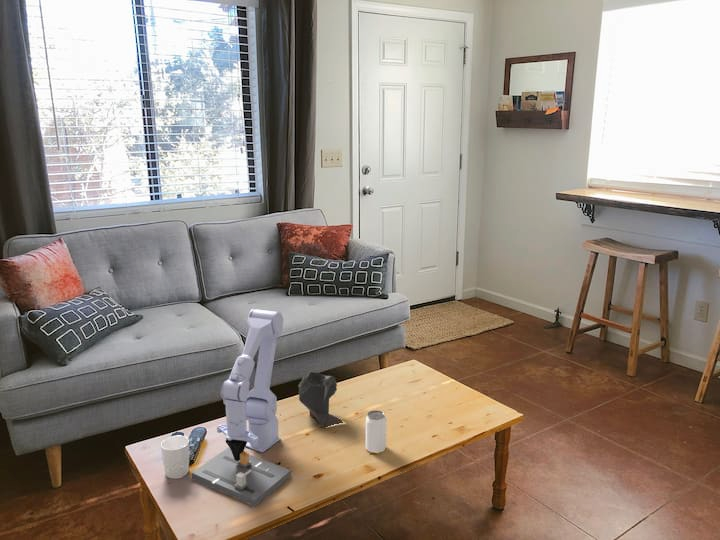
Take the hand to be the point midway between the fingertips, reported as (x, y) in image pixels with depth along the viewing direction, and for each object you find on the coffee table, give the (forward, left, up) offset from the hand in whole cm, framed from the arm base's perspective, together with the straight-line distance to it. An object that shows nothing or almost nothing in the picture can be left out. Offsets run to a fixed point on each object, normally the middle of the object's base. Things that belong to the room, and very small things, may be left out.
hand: (238, 459), depth 177 cm
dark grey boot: (-38, +3, -3) cm, 38 cm away
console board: (+3, +4, -3) cm, 6 cm away
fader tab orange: (0, +2, -1) cm, 3 cm away
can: (-31, +30, -3) cm, 43 cm away
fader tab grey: (+9, +9, -1) cm, 12 cm away
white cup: (+11, -14, -3) cm, 18 cm away
